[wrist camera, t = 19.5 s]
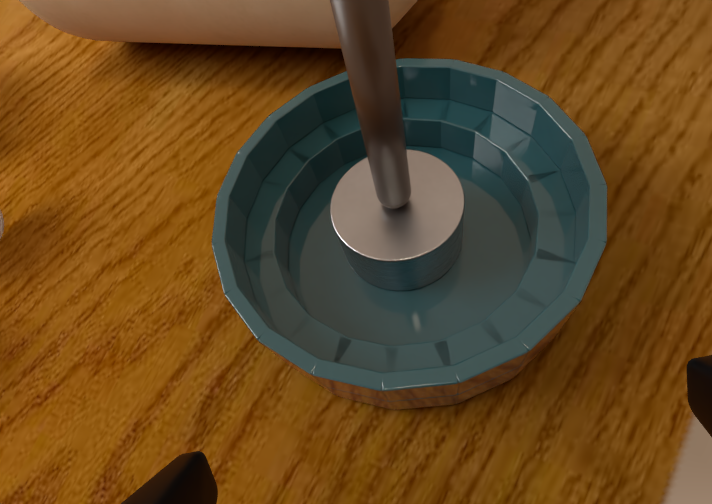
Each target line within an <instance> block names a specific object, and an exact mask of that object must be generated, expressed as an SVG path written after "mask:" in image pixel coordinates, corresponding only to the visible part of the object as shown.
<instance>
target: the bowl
mask: <svg viewBox="0 0 712 504" xmlns="http://www.w3.org/2000/svg"><path fill="white" fill-rule="evenodd" d="M396 67H397V75H398V83H399V92H400V100H401V109H402V117H403V125H404V134H405V142H406V149H412V150H418V151H422V152H425V153H428V154H431V155H433V156H435V157H437V158H439V159H441V160H442V161H443V162H445V163H446V164H447V165H448V166H449V167H450V168H451V169H452V170H453V171H454V172H455V174H456V175H457V176H458V178H459V180H460V182H461V184H462V187H463V190H464V196H465V209H464V225H463V240H462V246H461V250H460V253H459V255H458V257H457V259H456V261H455V263H454V264H453V266H452V267H451V268H450V269H449V270H448V271H447V272H446V273H445V274H444V275H443V276H442V277H441V278H439V279H437V280H436V281H434V282H433V283H431V284H428V285H426V286H424V287H421V288H417V289H413V290H405V291H394V290H387V289H383V288H380V287H377V286H374V285H372V284H370V283H368V282H367V281H365V280H364V279H362V278H361V277H360V276H359V275H358V274H357V273H356V272H355V271H354V270H353V268H352V267H351V265H350V264H349V262H348V260H347V258H346V255H345V253H344V251H343V248H342V246H341V244H340V242H339V239H338V237H337V235H336V232H335V230H334V228H333V225H332V222H331V216H330V204H331V199H332V195H333V192H334V190H335V188H336V185H337V184H338V182H339V181H340V179H341V178H342V177H343V175H344V174H345V173H346V172H347V171H348V170H349V169H350V168H351V167H352V166H354V165H355V164H356V163H358V162H359V161H361V160H363V159H364V158H367V153H366V149H365V145H364V141H363V136H362V132H361V128H360V124H359V120H358V116H357V111H356V107H355V103H354V99H353V95H352V91H351V86H350V82H349V78H348V74H347V71H345V72H343V73H341V74H338V75H336V76H334V77H331V78H329V79H327V80H324V81H322V82H320V83H317V84H315V85H313V86H310V87H309V88H306V89H305V90H304V91H302V92H301V93H299V94H298V95H297V96H295V97H294V98H293V99H291V100H290V101H288V102H287V103H286V104H284V105H283V106H281V107H280V108H279V109H277V110H276V111H275V112H273V113H272V114H270V115H269V117H267V118H266V119H265V120H264V122H263V123H262V124H261V125H260V126H259V127H258V129H257V130H256V131H255V132H254V133H253V134H252V136H251V137H250V138H249V139H248V140H247V142H246V143H245V144H244V145H243V146H242V147H241V149H240V150H239V151H238V153H237V154H236V155H235V158H234V160H233V162H232V164H231V166H230V169H229V171H228V173H227V175H226V177H225V179H224V182H223V184H222V186H221V188H220V190H219V193H218V195H217V200H216V209H215V218H214V227H213V236H212V249H213V253H214V257H215V260H216V264H217V268H218V272H219V276H220V280H221V284H222V288H223V292H224V294H225V297H226V298H227V299H228V301H229V302H230V304H231V305H232V306H233V308H234V309H235V310H236V312H237V313H238V315H239V316H240V317H241V319H242V320H243V321H244V323H245V324H246V326H247V327H248V328H249V330H250V331H251V332H252V334H253V335H254V337H255V338H256V339H257V340H258V341H259V342H260V343H261V344H263V345H264V346H265V347H266V348H268V349H269V350H270V351H272V352H273V353H274V354H275V355H277V356H278V357H279V358H281V359H282V360H283V361H285V362H286V363H287V364H288V365H290V366H291V367H292V368H294V369H295V370H297V371H299V372H300V373H302V374H303V375H305V376H306V377H308V378H309V379H311V380H312V381H314V382H316V383H317V384H319V385H320V386H322V387H323V388H325V389H326V390H328V391H329V392H331V393H333V394H334V395H337V396H338V397H343V398H347V399H351V400H355V401H359V402H363V403H368V404H372V405H376V406H380V407H384V408H388V409H395V410H399V409H410V408H420V407H431V406H441V405H452V404H456V403H457V404H458V403H460V402H462V401H464V400H467V399H469V398H471V397H473V396H475V395H478V394H480V393H482V392H484V391H486V390H489V389H491V388H493V387H495V386H497V385H500V384H502V383H504V382H506V381H508V380H511V379H512V378H513V377H515V376H516V375H517V374H518V373H519V372H520V371H521V370H522V369H523V368H524V367H525V366H526V365H527V364H528V363H529V362H530V361H531V360H532V359H533V358H534V357H535V356H536V355H537V354H539V353H540V352H541V351H542V350H543V349H544V348H545V347H546V346H547V345H548V344H549V343H550V342H551V341H552V340H553V339H554V338H555V336H556V335H557V334H558V332H559V331H560V330H561V328H562V327H563V325H564V324H565V323H566V321H567V320H568V318H569V317H570V316H571V314H572V313H573V311H574V310H575V309H576V307H577V306H578V305H579V303H580V302H581V300H582V298H583V296H584V294H585V291H586V289H587V287H588V285H589V282H590V280H591V278H592V276H593V273H594V271H595V269H596V266H597V264H598V262H599V260H600V257H601V255H602V253H603V251H604V248H605V246H606V242H607V185H606V181H605V179H604V177H603V174H602V172H601V170H600V167H599V165H598V162H597V160H596V158H595V155H594V153H593V151H592V148H591V146H590V143H589V141H588V139H587V136H585V134H584V132H583V131H582V130H581V129H580V128H579V127H578V126H577V125H576V124H575V123H574V122H573V121H572V120H571V119H570V118H569V117H568V116H567V115H566V113H565V112H564V111H563V110H562V109H561V108H560V107H559V106H558V105H557V104H556V103H555V102H554V101H553V100H552V99H551V98H549V96H547V95H545V94H544V93H542V92H540V91H538V90H536V89H535V88H533V87H531V86H529V85H527V84H526V83H524V82H522V81H520V80H518V79H516V78H515V77H513V76H511V75H509V74H507V73H506V72H503V71H499V70H495V69H491V68H487V67H483V66H480V65H476V64H472V63H468V62H464V61H460V60H456V59H455V60H454V59H420V58H404V59H402V58H401V59H396Z"/></svg>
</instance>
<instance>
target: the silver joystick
mask: <svg viewBox="0 0 712 504" xmlns="http://www.w3.org/2000/svg"><path fill="white" fill-rule="evenodd" d="M330 3H331V7H332V12H333V16H334V20H335V24H336V28H337V32H338V37H339V41H340V45H341V49H342V53H343V57H344V62H345V66H346V70H347V74H348V78H349V82H350V86H351V91H352V95H353V99H354V103H355V107H356V111H357V116H358V120H359V124H360V128H361V132H362V136H363V141H364V145H365V149H366V153H367V158H364V159H363V160H361V161H359V162H358V163H356V164H355V165H354V166H352V167H351V168H350V169H349V170H348V171H347V172H346V173H345V174H344V175H343V177H342V178H341V179H340V181H339V182H338V184H337V185H336V188H335V190H334V192H333V195H332V199H331V204H330V216H331V222H332V225H333V228H334V230H335V232H336V235H337V237H338V239H339V242H340V244H341V246H342V248H343V251H344V253H345V255H346V258H347V260H348V262H349V264H350V265H351V267H352V268H353V270H354V271H355V272H356V273H357V274H358V275H359V276H360V277H361V278H362V279H364V280H365V281H367V282H368V283H370V284H372V285H374V286H377V287H380V288H383V289H387V290H394V291H405V290H413V289H417V288H421V287H424V286H426V285H428V284H431V283H433V282H434V281H436V280H437V279H439V278H441V277H442V276H443V275H444V274H445V273H446V272H447V271H448V270H449V269H450V268H451V267H452V266H453V264H454V263H455V261H456V259H457V257H458V255H459V253H460V250H461V246H462V240H463V225H464V209H465V196H464V190H463V187H462V184H461V182H460V180H459V178H458V176H457V175H456V174H455V172H454V171H453V170H452V169H451V168H450V167H449V166H448V165H447V164H446V163H445V162H443V161H442V160H441V159H439V158H437V157H435V156H433V155H431V154H428V153H425V152H422V151H418V150H412V149H406V142H405V134H404V125H403V117H402V109H401V100H400V92H399V83H398V75H397V67H396V58H395V50H394V42H393V33H392V25H391V17H390V8H389V0H330Z"/></svg>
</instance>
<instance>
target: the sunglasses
mask: <svg viewBox="0 0 712 504" xmlns="http://www.w3.org/2000/svg"><path fill="white" fill-rule="evenodd" d="M3 230H4V219H3V215H2V212H1V210H0V239H1V237H2V234H3Z"/></svg>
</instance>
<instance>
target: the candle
mask: <svg viewBox="0 0 712 504" xmlns="http://www.w3.org/2000/svg"><path fill="white" fill-rule="evenodd" d="M19 1H20V2H22V3H23V4H24V5H25V6H26V7H27V8H28V9H29V10H30V11H32V12H33V13H34V14H35V15H37V16H38V17H39V18H41V19H42V20H44V21H45V22H47V23H49V24H50V25H52V26H53V27H55V28H57V29H59V30H62V31H64V32H66V33H69V34H72V35H75V36H78V37H82V38H86V39H92V40H100V41H116V42H146V43H179V44H212V45H245V46H277V47H310V48H341V45H340V41H339V37H338V32H337V28H336V24H335V20H334V16H333V12H332V7H331V3H330V0H19ZM417 1H418V0H389V8H390V17H391V25H392V28H393V27H394V26H395V25H396V24H397V23H398V22H399V21H400V20H401V19H402V17H403V16H404V15H405V14H406V13H407V12H408V11H409V10H410V8H411V7H412V6H413V5H414V4H415V3H416V2H417Z"/></svg>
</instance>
